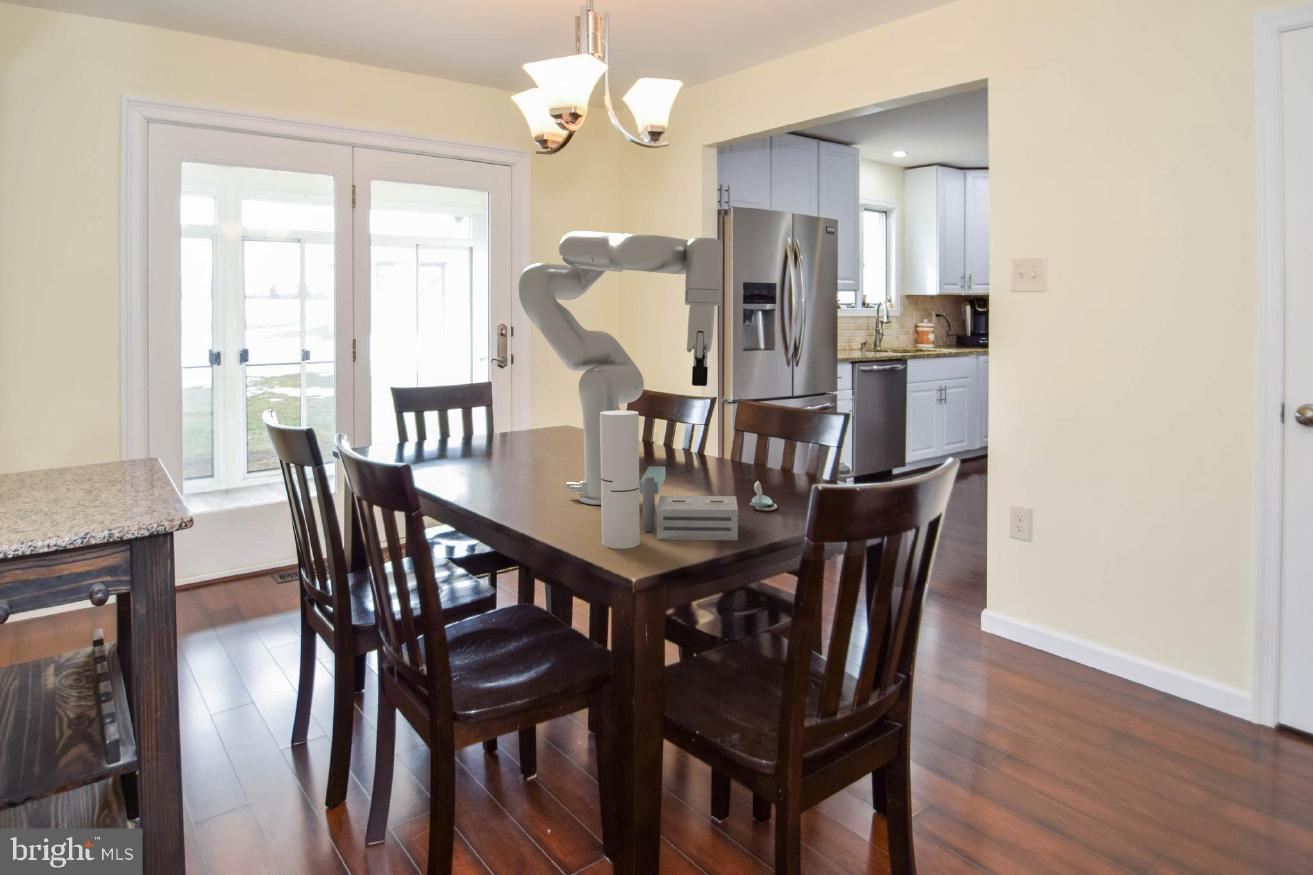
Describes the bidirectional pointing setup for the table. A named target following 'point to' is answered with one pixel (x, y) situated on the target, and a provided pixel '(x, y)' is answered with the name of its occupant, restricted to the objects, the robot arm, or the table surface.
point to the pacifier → (762, 499)
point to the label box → (697, 518)
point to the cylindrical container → (620, 478)
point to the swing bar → (651, 494)
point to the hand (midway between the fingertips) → (699, 385)
